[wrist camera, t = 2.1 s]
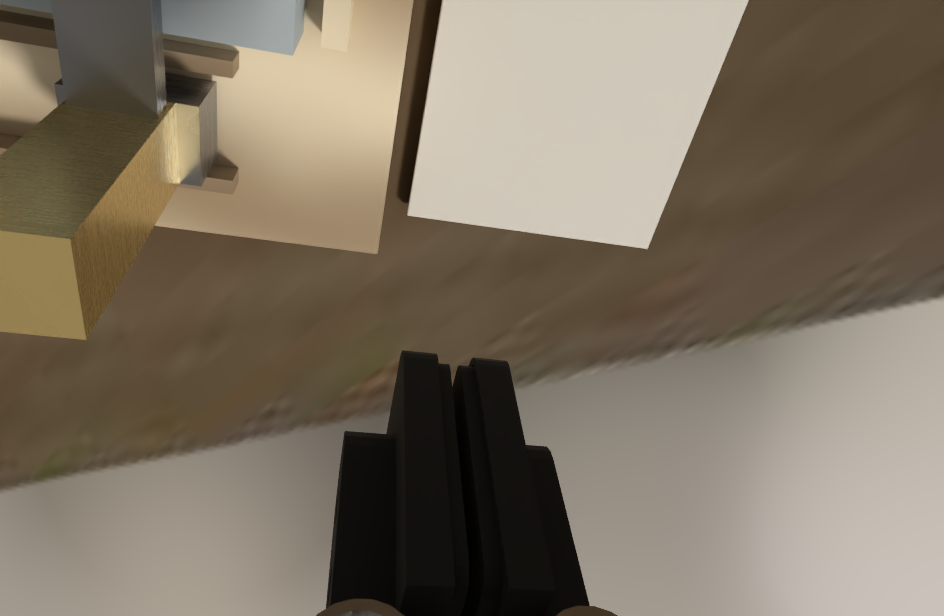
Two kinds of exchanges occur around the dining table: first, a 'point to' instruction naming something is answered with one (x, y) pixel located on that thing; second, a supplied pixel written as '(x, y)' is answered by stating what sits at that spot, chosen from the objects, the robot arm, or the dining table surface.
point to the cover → (224, 21)
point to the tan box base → (262, 121)
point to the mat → (565, 112)
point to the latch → (97, 166)
